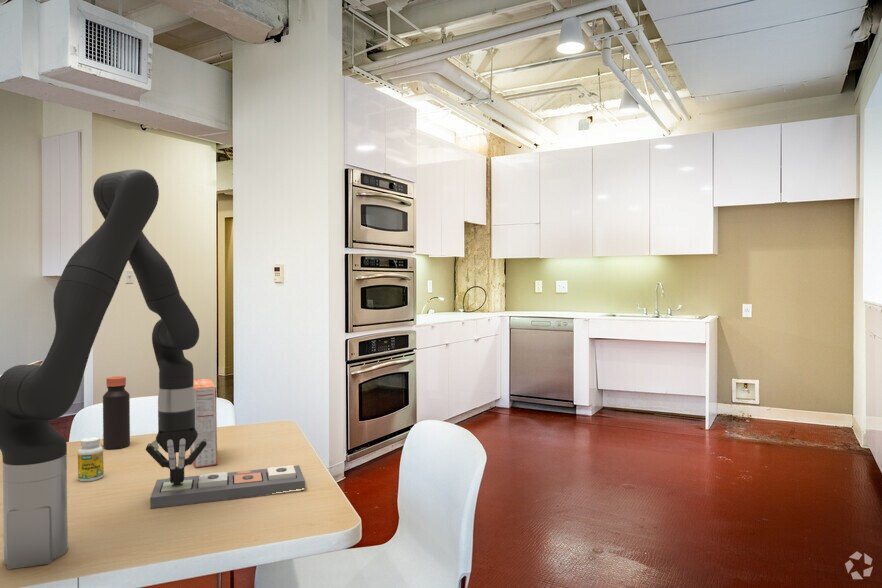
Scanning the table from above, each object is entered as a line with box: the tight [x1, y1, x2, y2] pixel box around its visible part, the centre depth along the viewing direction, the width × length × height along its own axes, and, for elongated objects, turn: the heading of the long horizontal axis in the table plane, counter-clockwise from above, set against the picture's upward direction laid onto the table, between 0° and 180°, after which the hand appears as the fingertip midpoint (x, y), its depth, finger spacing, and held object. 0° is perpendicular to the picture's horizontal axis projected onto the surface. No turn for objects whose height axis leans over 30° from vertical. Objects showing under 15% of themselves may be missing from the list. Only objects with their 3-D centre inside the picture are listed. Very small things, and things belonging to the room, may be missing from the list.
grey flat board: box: [149, 464, 306, 509], centre depth 135 cm, size 12×32×2 cm, turn 110°
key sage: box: [161, 480, 193, 492], centre depth 132 cm, size 6×6×2 cm
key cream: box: [266, 464, 296, 481], centre depth 139 cm, size 6×6×2 cm
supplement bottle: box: [77, 436, 105, 482], centre depth 143 cm, size 5×5×10 cm
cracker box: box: [189, 378, 218, 469], centre depth 158 cm, size 14×6×21 cm, turn 27°
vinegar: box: [102, 375, 131, 450], centre depth 171 cm, size 7×7×20 cm
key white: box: [198, 471, 228, 488], centre depth 134 cm, size 6×6×2 cm
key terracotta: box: [234, 472, 262, 485], centre depth 137 cm, size 6×6×2 cm
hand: (177, 484), depth 132 cm, fingers closed
